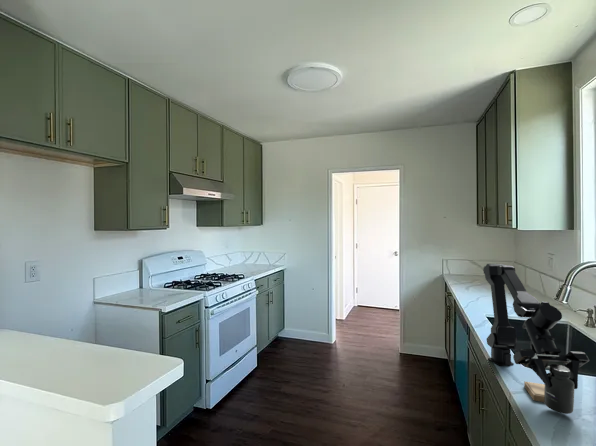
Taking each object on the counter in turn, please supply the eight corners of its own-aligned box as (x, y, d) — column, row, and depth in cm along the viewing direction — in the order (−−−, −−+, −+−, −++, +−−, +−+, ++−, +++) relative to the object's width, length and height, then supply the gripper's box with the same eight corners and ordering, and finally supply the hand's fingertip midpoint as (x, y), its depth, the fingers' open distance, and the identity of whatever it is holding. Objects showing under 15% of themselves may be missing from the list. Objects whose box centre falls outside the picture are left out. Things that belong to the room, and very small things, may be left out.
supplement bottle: (542, 407, 95) (543, 367, 95) (546, 398, 100) (547, 360, 100) (572, 417, 90) (573, 375, 90) (575, 407, 95) (576, 367, 95)
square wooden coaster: (524, 386, 110) (524, 380, 110) (556, 391, 108) (556, 385, 108) (533, 400, 102) (533, 394, 102) (568, 406, 99) (568, 399, 99)
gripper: (559, 348, 109) (582, 398, 98) (499, 344, 111) (516, 394, 101) (576, 333, 101) (604, 386, 90) (512, 330, 103) (532, 382, 93)
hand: (562, 387), depth 94 cm, fingers closed on supplement bottle, 7 cm apart
